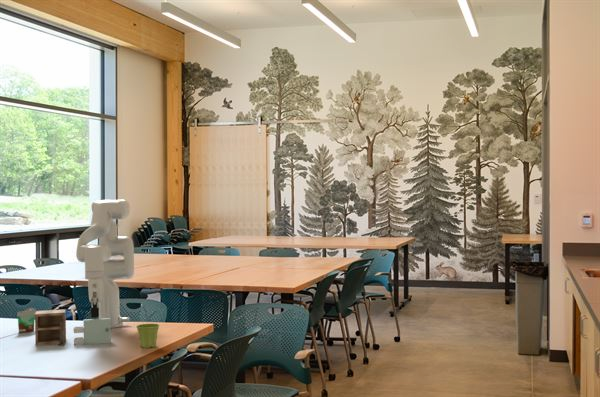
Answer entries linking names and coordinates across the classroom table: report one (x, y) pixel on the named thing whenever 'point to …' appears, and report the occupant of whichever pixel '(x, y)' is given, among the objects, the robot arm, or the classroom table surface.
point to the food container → (26, 320)
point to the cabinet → (50, 327)
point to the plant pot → (148, 334)
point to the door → (94, 331)
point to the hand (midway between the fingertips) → (94, 315)
